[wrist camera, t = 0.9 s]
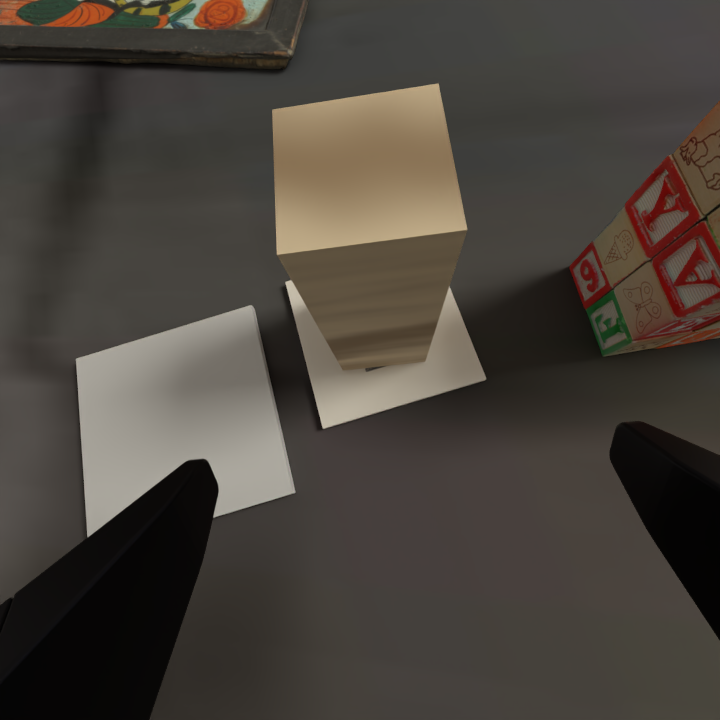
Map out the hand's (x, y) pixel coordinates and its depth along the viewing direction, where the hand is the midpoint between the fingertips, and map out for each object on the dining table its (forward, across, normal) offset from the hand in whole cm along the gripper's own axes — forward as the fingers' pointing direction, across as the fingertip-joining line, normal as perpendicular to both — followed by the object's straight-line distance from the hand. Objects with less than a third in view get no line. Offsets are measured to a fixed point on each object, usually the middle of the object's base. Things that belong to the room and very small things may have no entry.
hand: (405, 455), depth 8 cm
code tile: (+15, 0, +4) cm, 16 cm away
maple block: (+15, 0, +3) cm, 15 cm away
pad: (+12, +13, +7) cm, 19 cm away
